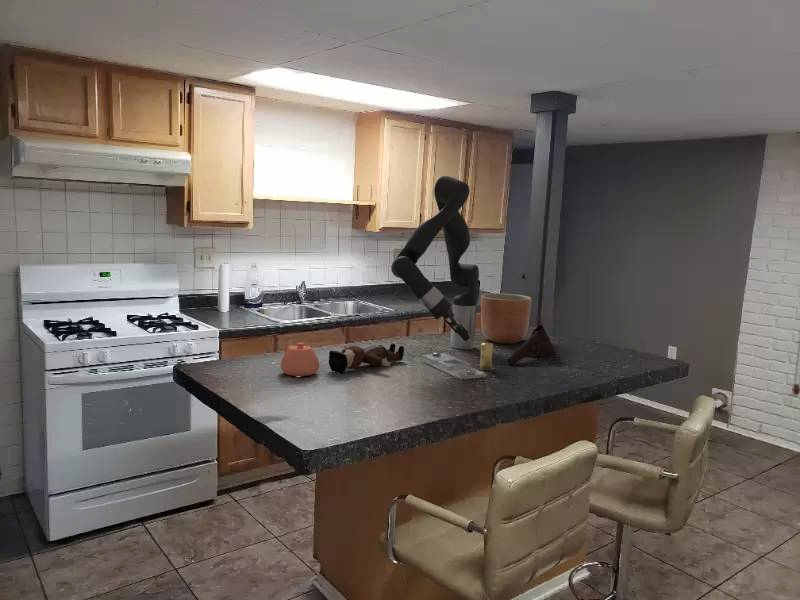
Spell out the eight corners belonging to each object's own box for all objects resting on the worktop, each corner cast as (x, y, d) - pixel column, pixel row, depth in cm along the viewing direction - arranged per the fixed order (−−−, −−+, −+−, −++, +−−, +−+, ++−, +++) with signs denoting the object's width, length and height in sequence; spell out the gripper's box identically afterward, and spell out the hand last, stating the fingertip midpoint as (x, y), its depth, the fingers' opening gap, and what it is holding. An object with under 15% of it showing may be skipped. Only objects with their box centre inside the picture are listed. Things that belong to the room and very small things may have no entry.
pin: (477, 368, 219) (478, 342, 218) (487, 367, 221) (488, 342, 220) (484, 371, 216) (485, 345, 215) (493, 370, 218) (495, 344, 217)
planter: (468, 339, 269) (471, 295, 266) (499, 334, 283) (502, 292, 280) (508, 348, 254) (511, 301, 251) (538, 342, 268) (541, 298, 265)
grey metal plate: (421, 361, 226) (422, 352, 226) (444, 359, 231) (444, 350, 230) (461, 379, 203) (461, 370, 203) (485, 377, 208) (486, 367, 207)
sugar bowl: (296, 381, 195) (297, 348, 193) (269, 372, 204) (269, 341, 203) (327, 374, 204) (327, 343, 202) (299, 366, 213) (300, 336, 212)
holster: (525, 394, 231) (559, 352, 244) (513, 360, 223) (549, 318, 236) (514, 391, 234) (548, 350, 247) (502, 357, 227) (538, 316, 240)
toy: (424, 351, 218) (361, 352, 196) (420, 378, 219) (357, 382, 197) (375, 338, 234) (312, 337, 212) (372, 364, 235) (309, 366, 213)
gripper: (443, 297, 209) (476, 333, 210) (442, 292, 223) (473, 326, 224) (426, 313, 210) (460, 348, 211) (427, 306, 224) (458, 340, 225)
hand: (467, 337), depth 217 cm, fingers open, 8 cm apart
